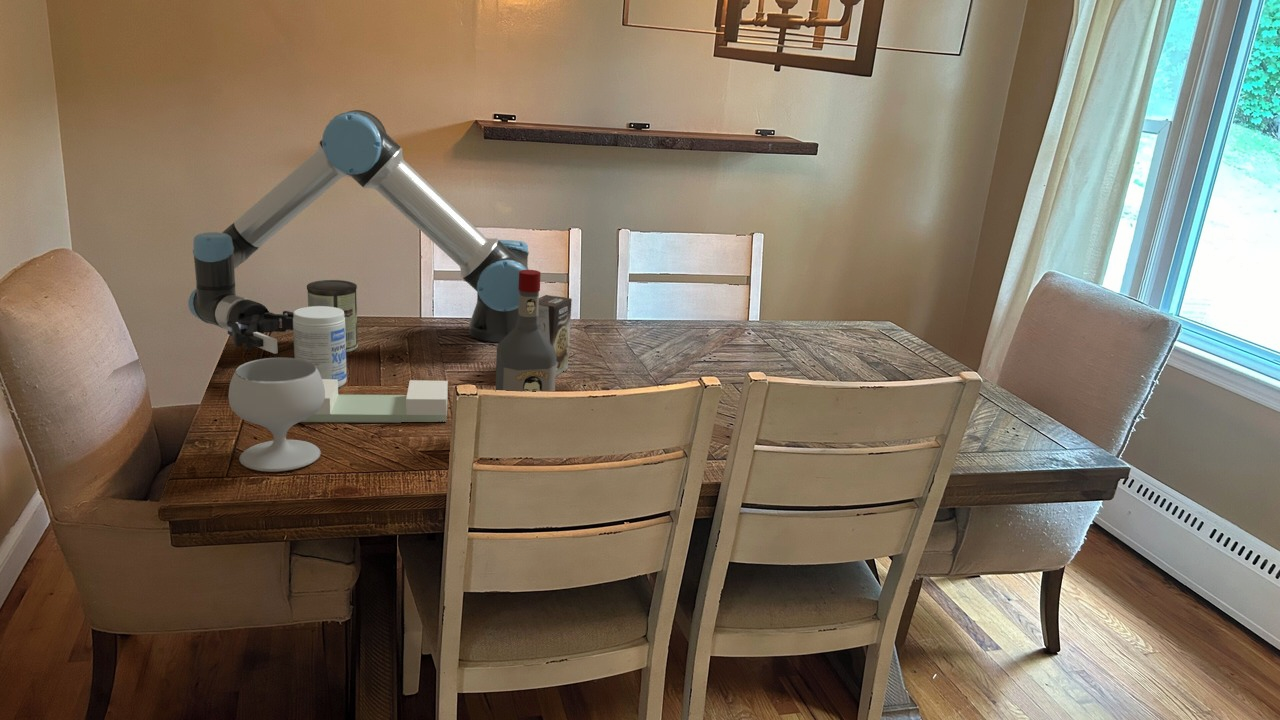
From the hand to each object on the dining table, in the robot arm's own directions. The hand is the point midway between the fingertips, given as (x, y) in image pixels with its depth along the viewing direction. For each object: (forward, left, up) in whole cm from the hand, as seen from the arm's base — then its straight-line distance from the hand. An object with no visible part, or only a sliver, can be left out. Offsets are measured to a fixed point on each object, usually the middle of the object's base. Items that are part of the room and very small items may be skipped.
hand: (306, 339), depth 175 cm
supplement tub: (-3, +2, -9) cm, 9 cm away
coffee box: (-48, -7, -9) cm, 49 cm away
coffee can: (-2, -22, -9) cm, 24 cm away
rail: (-14, +17, -8) cm, 23 cm away
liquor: (-41, +29, -9) cm, 51 cm away
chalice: (-2, +37, -9) cm, 38 cm away
